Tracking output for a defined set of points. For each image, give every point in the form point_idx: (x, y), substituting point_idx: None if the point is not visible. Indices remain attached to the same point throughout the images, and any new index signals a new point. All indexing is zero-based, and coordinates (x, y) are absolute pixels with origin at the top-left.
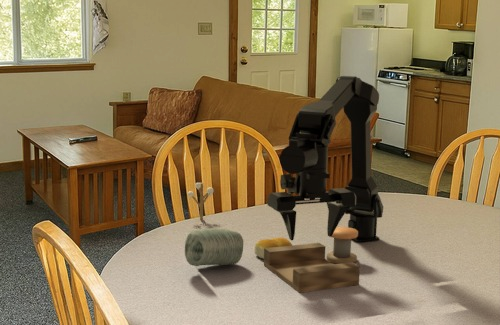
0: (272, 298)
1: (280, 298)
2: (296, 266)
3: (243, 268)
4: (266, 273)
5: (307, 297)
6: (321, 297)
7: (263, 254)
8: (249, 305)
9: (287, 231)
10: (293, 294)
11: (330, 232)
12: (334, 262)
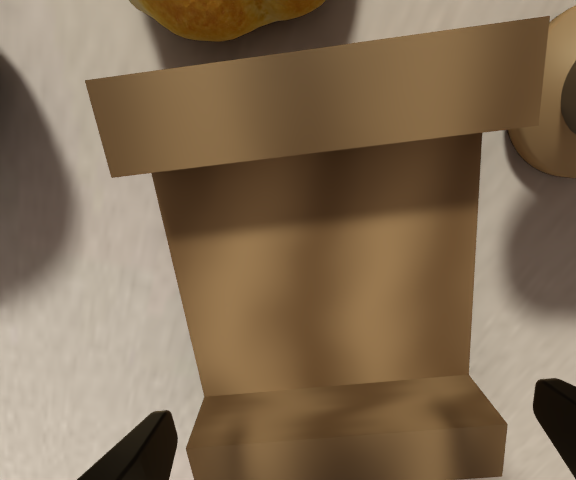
0: None
1: None
2: (282, 219)
3: (37, 126)
4: (139, 219)
5: None
6: None
7: (134, 4)
8: (45, 473)
9: (90, 473)
10: None
11: (567, 456)
12: (518, 147)
